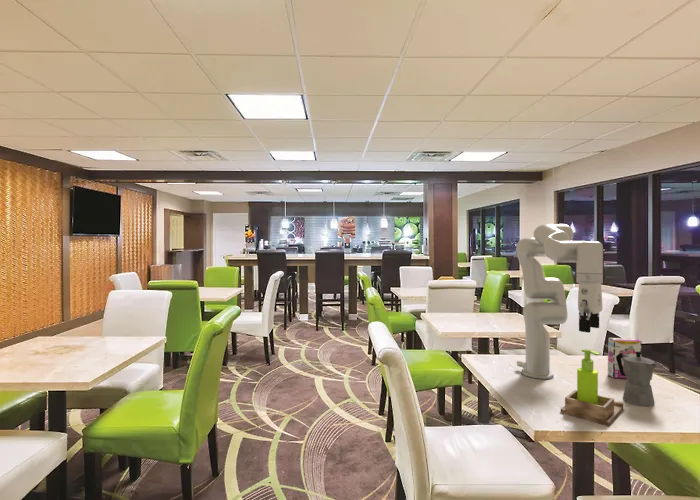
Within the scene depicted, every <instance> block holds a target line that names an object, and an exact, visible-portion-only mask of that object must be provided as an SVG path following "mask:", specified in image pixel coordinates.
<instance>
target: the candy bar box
mask: <svg viewBox="0 0 700 500" xmlns="http://www.w3.org/2000/svg"><path fill="white" fill-rule="evenodd" d="M642 342H643V341H641V340H639V339H637V338H630V337H629V338H626V337H625V338H624V337H608V339H607V375H608V376H609V377H610V378H613V379H624V380H627V377H626V376H623V375H621V374H620V370H619V367H618V363H617V360H616V356H617V355H618V354H619V353H623V354H626V355H629V356H636V352H637V351H639V352H641V353H642ZM640 357H642V355H641V356H640ZM621 360H622V366H623V372H624V373H625V369H624V363H623V359H622V358H621Z"/></svg>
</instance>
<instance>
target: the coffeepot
mask: <svg viewBox="0 0 700 500" xmlns="http://www.w3.org/2000/svg"><path fill="white" fill-rule="evenodd" d="M640 356H641V357H640ZM621 358H622V359H623V363H624V369H625V373H624V372H623V366H622V360H621ZM616 360H617V363H618V367H619V370H620V374H621V375H623V376H626V377H627V379H626V381H625V385H624V389H623V395H622V399H623V400H624V401H625V402H627V403H629V404H632V405H635V406H638V407H639V406H641V407H653V406H654V404H655V398H654V393H653V389H652V385H651V381H652V379H653V375H654V370H655V369H656V368H657V367H658V364H657V363H656V361H654V360H652V359H649V358H646V357H643V356H642V351H641V352H639V351H637V352H636V356H629V355H626V354H623V353H619V354H618V355H617V356H616Z"/></svg>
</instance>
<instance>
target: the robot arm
mask: <svg viewBox="0 0 700 500" xmlns="http://www.w3.org/2000/svg"><path fill="white" fill-rule="evenodd" d="M573 239H574V231H573V228H572V227H571V226H569V225H568V224H565V223H559V224H558V223H556V224H553V223H548V224H547V223H545V224H540V225H539V226H537V227H536V228H535V229H534V231H533V237H525V238H521V239H520V240H518V242H517V244H516V255H517V259H518V263H519V264H520V267H521V273H522V281H523V289H524V290H523V291H524V294H525V296H526V297H527V298H528V299H530V300H550V301H546V302H545V301H537V302H536V301H534V302H533V301H532V302H528V303H526V304H525V305H524V306H523V307H522V308H523V309H522V315H523V320H524V329H525V330H524V332H525V361H519V360H517V361H516V366H517V367H519V368H522V369H521V373H522V375H524V376H525V377H529V378H533V379H538V380H548V379H552V378H554V377H555V373H554V372H553V371H551V370H550V369H551V368H550V365H551V363H550V360H551V359H550V351H551V350H550V348H551V347H550V333H549V331H548V330H547V328H546V327H545V325H564V324H565V323H566V322H567V320H568V308H567V307H568V305H567V299H566V292H565V287H564V283H563V282H562V281H561V280H560V279H559V278H558V277H557V278H556V277H545V275H544V267H543V266H542V264H541V263H540V261H538V259H536V258H537V257H539V258H540V257H541V258H542V257H543V258H545V257H547V258H548V259H549V260H551V261H554V262H556V263H576V265H575V267H576V269H575V270H576V271H575V273H576V275H575V276H576V278H575V279H576V282H575V283H578V290H577V291H578V295H577V311H578V331H579V332H581V333H589V334H590V333H591V328H592V329H599V328H600V313H601V312H602V311H603V290H602V285H603V284H604V278H603V277H604V275H603V274H604V273H603V272H604V271H603V270H604V269H603V268H604V267H603V266H604V265H603V264H604V260H603V259H604V247H603V243H602V242H600V241H588V240H587V241H586V240H573ZM535 257H536V258H535Z"/></svg>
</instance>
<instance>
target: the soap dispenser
mask: <svg viewBox="0 0 700 500" xmlns="http://www.w3.org/2000/svg"><path fill="white" fill-rule="evenodd" d="M581 352H582V353H584V357H583V358H581V367H579V368H577V372H576V373H577V375H576V376H577V377H576V378H577V379H576V380H577V381H576V384H577V385H576V386H577V388H576V390H577V400H580V401H584V402H588V403H592V404H596V405H598V395H599V393H598V392H599V389H598V388H599V371H598V370H595V369H594V360H593V359H592V358H591V354H592V355H595V356H601V354H602V353H600V352H598V351H595V350H592V349H587V348H586V349H581Z"/></svg>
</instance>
